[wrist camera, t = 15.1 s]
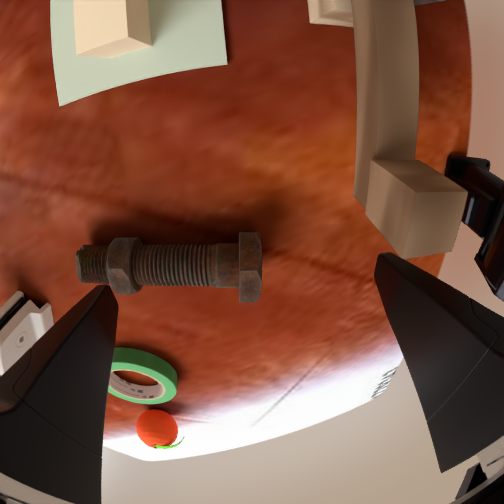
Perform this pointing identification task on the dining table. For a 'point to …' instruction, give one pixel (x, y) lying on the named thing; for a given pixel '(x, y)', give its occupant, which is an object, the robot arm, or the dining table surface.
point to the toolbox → (339, 11)
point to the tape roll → (147, 366)
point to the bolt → (174, 265)
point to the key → (397, 136)
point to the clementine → (157, 429)
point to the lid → (131, 41)
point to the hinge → (21, 328)
